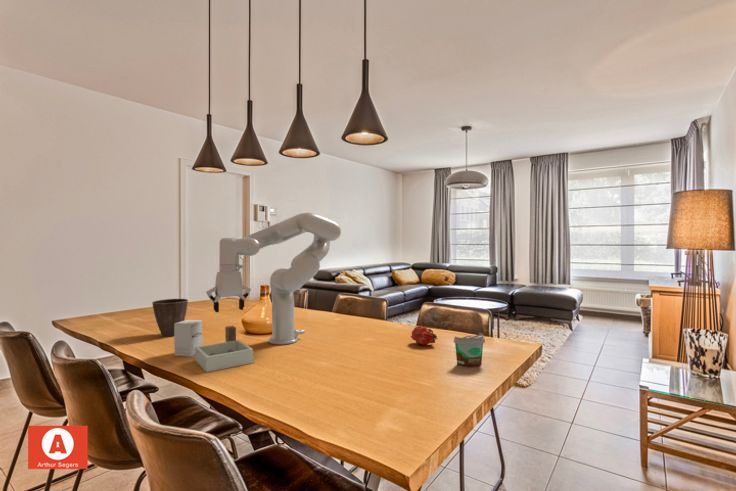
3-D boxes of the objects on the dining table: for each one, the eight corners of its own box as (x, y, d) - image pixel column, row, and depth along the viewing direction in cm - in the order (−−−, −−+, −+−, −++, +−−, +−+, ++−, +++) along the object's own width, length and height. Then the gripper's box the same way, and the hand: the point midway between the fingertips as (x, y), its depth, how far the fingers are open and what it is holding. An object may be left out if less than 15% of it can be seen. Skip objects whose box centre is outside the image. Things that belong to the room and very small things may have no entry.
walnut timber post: (233, 347, 158) (232, 325, 158) (236, 349, 155) (235, 327, 155) (225, 348, 157) (225, 326, 156) (228, 350, 153) (228, 328, 153)
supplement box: (191, 357, 146) (190, 323, 146) (173, 355, 147) (173, 323, 147) (203, 351, 153) (202, 319, 153) (186, 350, 154) (186, 319, 154)
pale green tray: (238, 352, 151) (238, 339, 151) (253, 362, 138) (253, 349, 138) (195, 360, 141) (195, 346, 141) (206, 372, 128) (206, 357, 128)
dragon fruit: (411, 345, 165) (435, 354, 157) (403, 337, 159) (428, 346, 151) (419, 327, 168) (443, 335, 160) (412, 319, 162) (436, 327, 154)
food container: (465, 370, 128) (465, 340, 128) (453, 365, 133) (453, 336, 133) (493, 364, 134) (492, 336, 134) (480, 359, 139) (480, 332, 139)
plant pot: (149, 334, 181) (148, 300, 181) (182, 329, 191) (182, 297, 191) (157, 340, 170) (157, 304, 170) (193, 334, 180) (192, 300, 180)
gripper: (247, 267, 163) (247, 307, 164) (204, 268, 153) (204, 311, 153) (253, 268, 157) (253, 309, 157) (209, 269, 147) (209, 314, 147)
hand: (229, 310), depth 155 cm, fingers open, 9 cm apart
